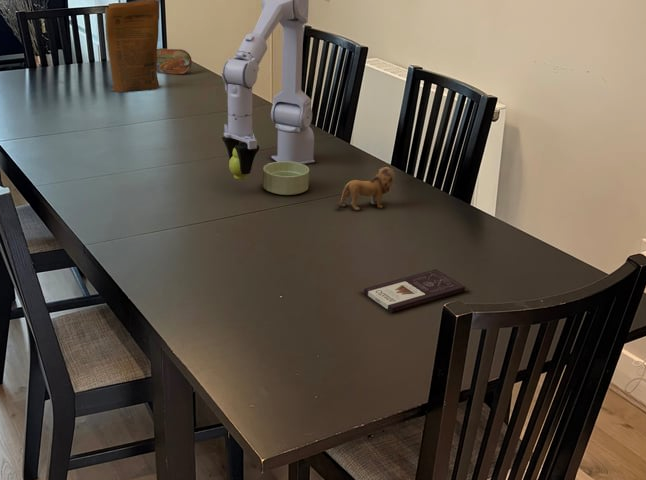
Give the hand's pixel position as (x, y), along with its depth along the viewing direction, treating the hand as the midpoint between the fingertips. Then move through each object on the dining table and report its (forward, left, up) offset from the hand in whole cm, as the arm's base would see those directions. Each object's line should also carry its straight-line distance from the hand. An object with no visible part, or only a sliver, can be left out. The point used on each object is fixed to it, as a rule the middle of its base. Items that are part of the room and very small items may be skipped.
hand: (240, 169), depth 202 cm
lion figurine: (-24, +20, -6) cm, 32 cm away
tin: (-26, -119, -6) cm, 122 cm away
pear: (0, 0, -2) cm, 2 cm away
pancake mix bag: (-7, -101, -6) cm, 101 cm away
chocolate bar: (-9, +63, -6) cm, 64 cm away
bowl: (-12, +2, -6) cm, 13 cm away
